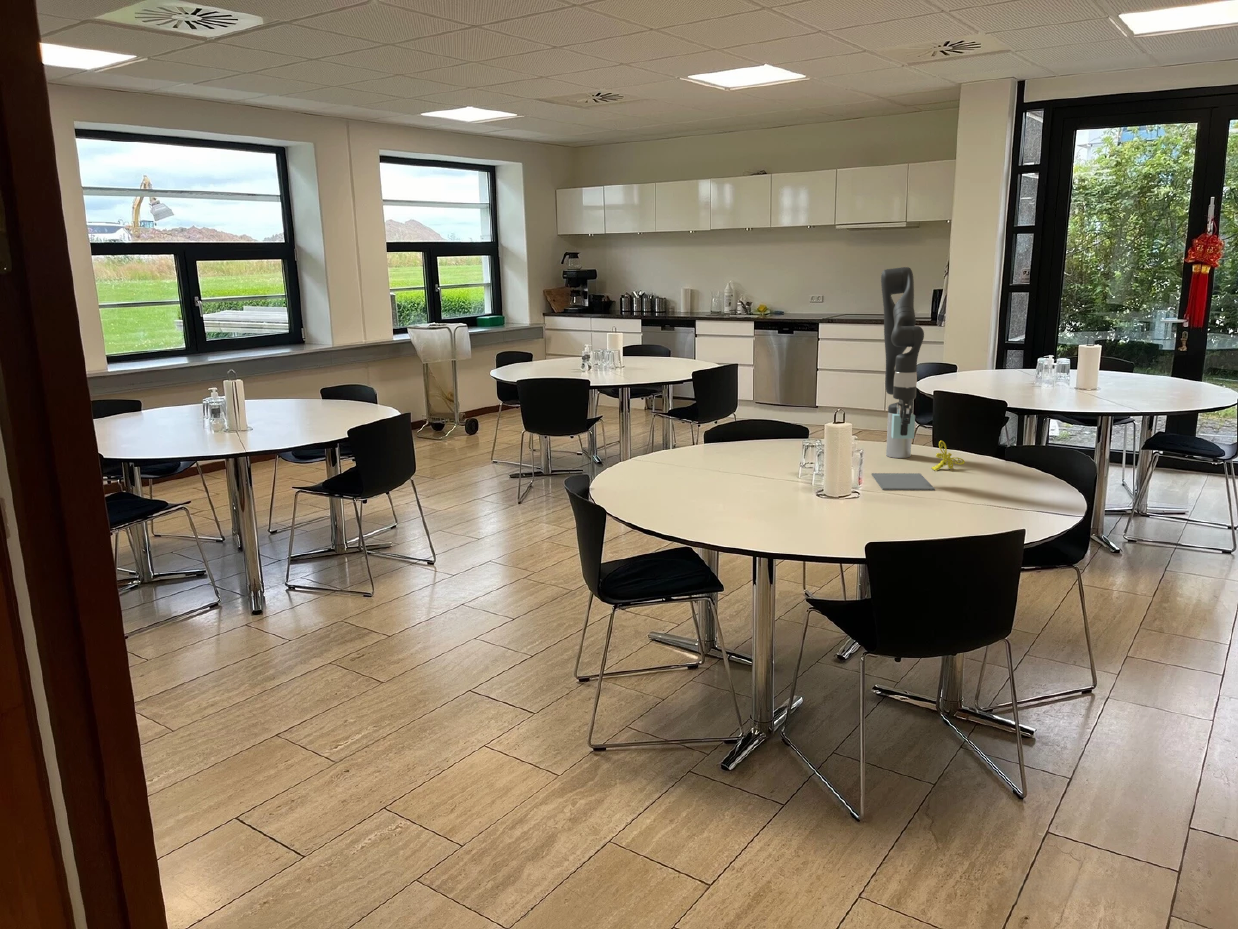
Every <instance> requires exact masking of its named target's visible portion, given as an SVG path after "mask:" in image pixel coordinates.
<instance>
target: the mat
mask: <svg viewBox="0 0 1238 929" xmlns="http://www.w3.org/2000/svg"><path fill="white" fill-rule="evenodd" d="M871 476H872V477H873V479H874V480H875V482H876V483H877V484H878V486H879V487H880V488H881V490H882V491H935V490H936V488H935V487H934V485H932V484H931V483H930V482H929V480H927V478H926V477H925V476H924V475H922V473H920V472H918V473H917V472H916V473H915V472H913V473H912V472H911V473H910V472H908V473H907V472H906V473H905V472H904V473H903V472H900V473H899V472H897V473H896V472H893V473H892V472H889V473H888V472H887V473H885V472H878V473H877V472H871Z"/></svg>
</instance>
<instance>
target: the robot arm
mask: <svg viewBox="0 0 1238 929" xmlns="http://www.w3.org/2000/svg"><path fill="white" fill-rule="evenodd" d="M913 274H914V273H913V270H912V268H910V267H908V266H907V267H906V266H902V267H896V268H895V267H893V268H887V269H884V270H882V272H881V276H880V284H881V293H882V294H881V295H882V303H883V304H882V305H883V337H884V339H883V340H884V349H885V379H884V381H885V382H884V384H885V385H884V386H885V392H886V393H887V394H888V395H892V398H893V399H895V400H898V402H894V403H891V404H889V405H888V407H887V429H886V434H887V435H886V448H885V449H886V450H885V451H886V452H885V454H886V457H890V458H894V459H895V458H896V459H905V458H911V453H912V439H894V438H892V437H891V429H892V414H899V417H900V418H901V432H900V434H901V435H902V436H906V435H907V431H908V424H910V418H911V414H914V400H915V399H916V398H917V387H918V386H917V383H918V382H917V381H918V378H917V377H918V376H917V368H918V359H919V358H918V357H919V352H920V350H921V347H922V344H923V342H924V338H925V331H924V329H923V328H922V327H921V326H919V325H917V324H916V322H917V321H916V313H915V306H914V304H915V300H914V299H915V281H914V275H913ZM897 294H898V295H900V294H902V295H901V297H899V299H898V300H897V302H896V303H895V302H894V300H893V298H892V295H897ZM907 348H911V349H910V350H909V351H908V352H905V351H906V350H907ZM905 418H907V420H904V419H905Z"/></svg>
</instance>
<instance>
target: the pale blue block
mask: <svg viewBox="0 0 1238 929" xmlns="http://www.w3.org/2000/svg"><path fill="white" fill-rule="evenodd" d="M904 420H907V418H905V419H904ZM915 422H916V415H915V414H914V413H913V414H911V418H910V424H908V431H907V435H906V436H902V435H901V434H900V432H901V418H900V417H899V414H892V429H891V437H892V438H894V439H913V440H914V439H915V426H916V425H915V424H916V423H915Z"/></svg>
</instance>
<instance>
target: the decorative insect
mask: <svg viewBox="0 0 1238 929" xmlns="http://www.w3.org/2000/svg"><path fill="white" fill-rule="evenodd" d="M943 447H944V448H943ZM947 447H948V446H947V444H946V443H945V442H944V441H943V440H940V441H938V448H939V450H940V452H937V453H936V454H935V457H936V458H938V459H942V460H940V462H939V463H937V464H935V466H931V470H933V471H935V472H936V471H939V470H941V469H942V468H944V466H946V465H947V468H948V469H949V470H952V469H954V464H955V465H960V466H962V465H964V464H965V462H966V461H965V459H963V458H962V457H952V455H953V454H952V453H951V452H948V449H947Z"/></svg>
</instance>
